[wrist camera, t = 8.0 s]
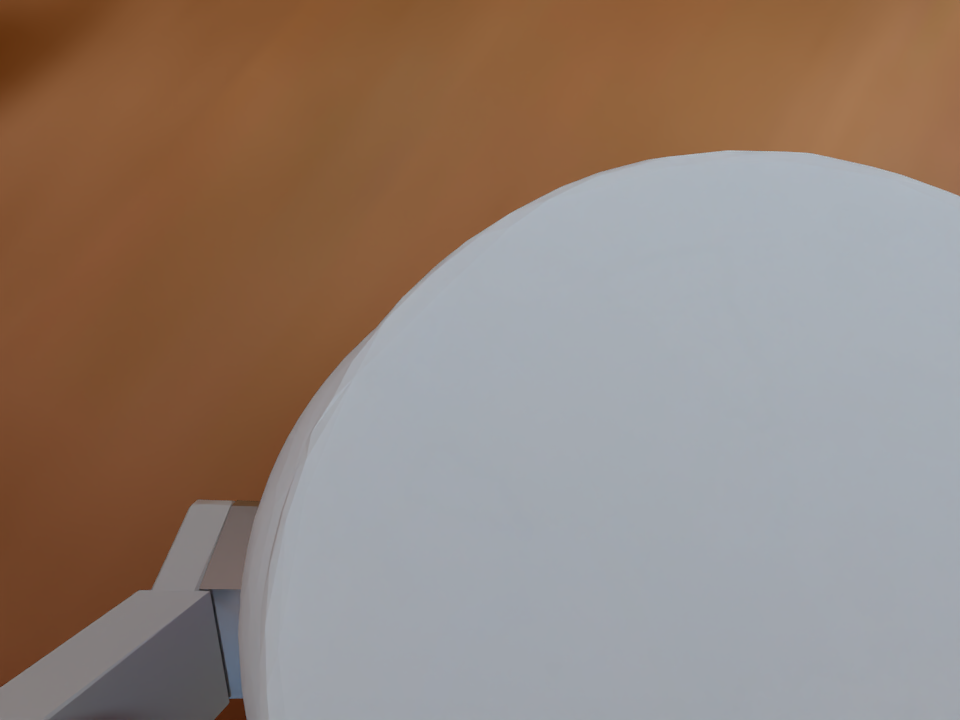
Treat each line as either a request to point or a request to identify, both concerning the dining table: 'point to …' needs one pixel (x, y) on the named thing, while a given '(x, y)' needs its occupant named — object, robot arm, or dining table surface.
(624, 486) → the supplement bottle
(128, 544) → the dining table surface
